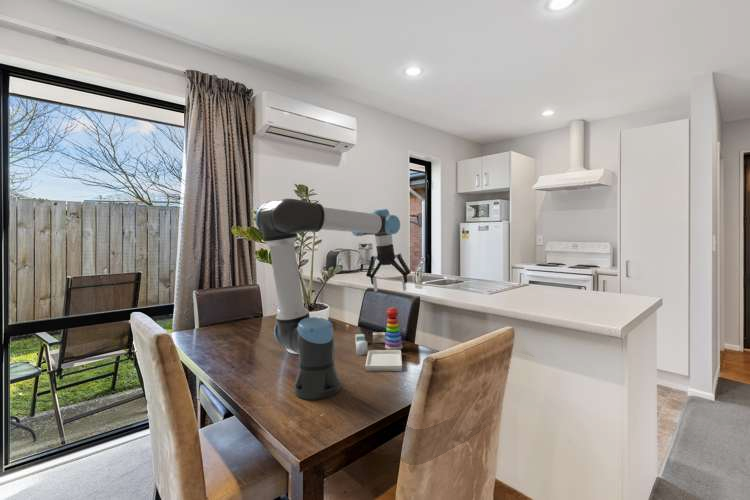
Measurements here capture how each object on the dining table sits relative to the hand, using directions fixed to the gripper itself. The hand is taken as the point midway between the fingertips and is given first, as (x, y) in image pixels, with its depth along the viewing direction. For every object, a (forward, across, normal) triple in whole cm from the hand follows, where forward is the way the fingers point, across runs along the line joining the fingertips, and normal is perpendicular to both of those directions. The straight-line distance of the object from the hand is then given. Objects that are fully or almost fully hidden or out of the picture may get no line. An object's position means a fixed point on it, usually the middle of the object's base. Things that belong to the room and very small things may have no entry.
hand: (390, 290), depth 160 cm
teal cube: (+25, +18, 0) cm, 31 cm away
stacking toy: (+26, 0, +4) cm, 27 cm away
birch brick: (+27, +10, -5) cm, 29 cm away
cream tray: (+24, -1, +21) cm, 32 cm away
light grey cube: (+24, +12, +13) cm, 30 cm away
